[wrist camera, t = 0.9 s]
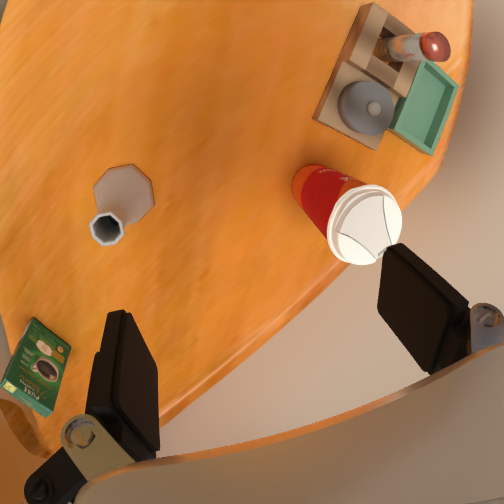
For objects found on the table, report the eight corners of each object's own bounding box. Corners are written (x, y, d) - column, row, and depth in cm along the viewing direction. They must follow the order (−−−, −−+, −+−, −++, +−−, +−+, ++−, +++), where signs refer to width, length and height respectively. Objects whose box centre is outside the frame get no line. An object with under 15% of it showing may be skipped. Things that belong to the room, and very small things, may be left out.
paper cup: (349, 189, 40) (416, 233, 28) (305, 226, 41) (357, 284, 29) (319, 141, 36) (386, 170, 24) (269, 181, 37) (316, 228, 25)
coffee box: (24, 323, 38) (-3, 387, 27) (32, 314, 38) (4, 379, 26) (63, 354, 42) (46, 420, 31) (72, 346, 42) (55, 414, 30)
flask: (136, 152, 32) (120, 173, 23) (165, 207, 36) (161, 245, 27) (83, 183, 32) (54, 214, 23) (113, 234, 36) (96, 278, 27)
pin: (372, 35, 30) (433, 25, 20) (390, 48, 31) (453, 44, 21) (364, 54, 31) (425, 49, 22) (383, 67, 33) (445, 67, 23)
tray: (411, 54, 32) (423, 53, 30) (447, 84, 35) (458, 86, 33) (382, 126, 36) (393, 129, 34) (421, 152, 39) (432, 156, 37)
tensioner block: (360, 6, 28) (380, -1, 24) (412, 43, 31) (434, 42, 27) (312, 118, 34) (329, 122, 30) (369, 148, 38) (389, 156, 34)
